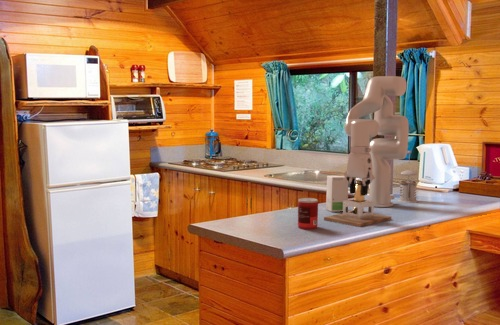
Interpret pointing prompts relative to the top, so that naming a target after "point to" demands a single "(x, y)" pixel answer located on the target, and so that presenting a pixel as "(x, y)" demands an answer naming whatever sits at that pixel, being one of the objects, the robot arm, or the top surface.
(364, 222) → the stand board
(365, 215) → the collar cage
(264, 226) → the top surface
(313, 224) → the canned food
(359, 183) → the brass tube
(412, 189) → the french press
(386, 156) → the robot arm
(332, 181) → the skincare box
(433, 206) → the top surface
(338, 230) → the top surface
